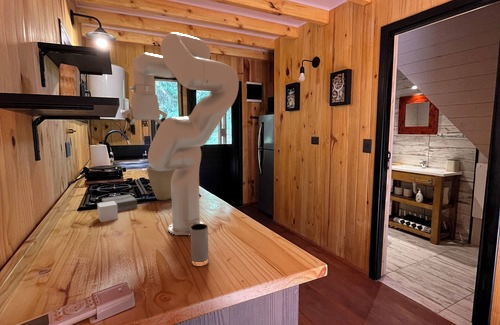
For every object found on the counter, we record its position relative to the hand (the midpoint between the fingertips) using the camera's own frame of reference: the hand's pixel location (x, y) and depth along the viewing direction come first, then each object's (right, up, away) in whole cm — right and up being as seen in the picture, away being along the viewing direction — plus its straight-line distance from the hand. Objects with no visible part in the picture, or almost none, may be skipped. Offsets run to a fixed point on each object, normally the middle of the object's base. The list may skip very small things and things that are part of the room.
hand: (146, 134), depth 109 cm
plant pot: (-1, -29, +27) cm, 40 cm away
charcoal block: (-17, -32, +13) cm, 38 cm away
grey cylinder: (+28, -39, -36) cm, 60 cm away
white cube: (-14, -34, -2) cm, 36 cm away
